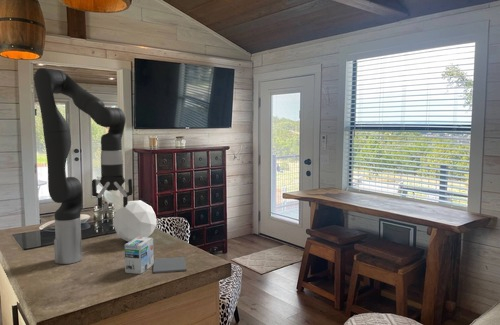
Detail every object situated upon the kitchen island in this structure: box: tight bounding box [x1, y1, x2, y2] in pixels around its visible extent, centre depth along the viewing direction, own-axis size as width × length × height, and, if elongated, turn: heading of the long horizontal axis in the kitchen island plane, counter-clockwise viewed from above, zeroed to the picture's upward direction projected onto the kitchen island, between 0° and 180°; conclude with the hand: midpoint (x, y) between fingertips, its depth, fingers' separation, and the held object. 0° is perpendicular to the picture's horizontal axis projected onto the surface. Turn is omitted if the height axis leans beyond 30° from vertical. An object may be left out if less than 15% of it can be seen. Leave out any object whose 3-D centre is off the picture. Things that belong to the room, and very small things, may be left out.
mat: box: [152, 256, 187, 274], centre depth 151 cm, size 12×14×1 cm
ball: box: [112, 199, 157, 243], centre depth 182 cm, size 19×20×20 cm
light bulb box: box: [124, 237, 155, 275], centre depth 147 cm, size 11×7×11 cm, turn 168°
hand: (113, 207), depth 143 cm, fingers open, 7 cm apart
